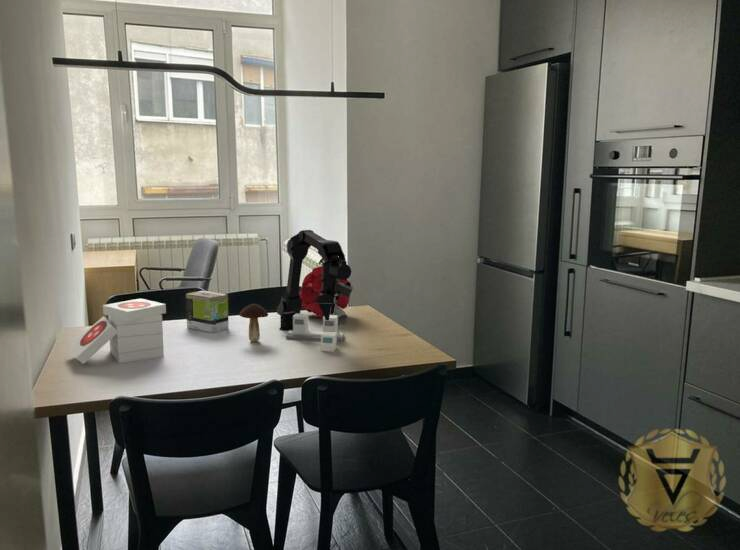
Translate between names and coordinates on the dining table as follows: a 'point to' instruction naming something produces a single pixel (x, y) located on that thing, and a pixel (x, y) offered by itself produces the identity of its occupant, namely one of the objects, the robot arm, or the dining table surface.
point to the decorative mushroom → (253, 319)
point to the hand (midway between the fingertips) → (329, 317)
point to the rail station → (302, 331)
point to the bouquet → (313, 290)
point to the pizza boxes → (125, 332)
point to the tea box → (207, 311)
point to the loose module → (328, 341)
